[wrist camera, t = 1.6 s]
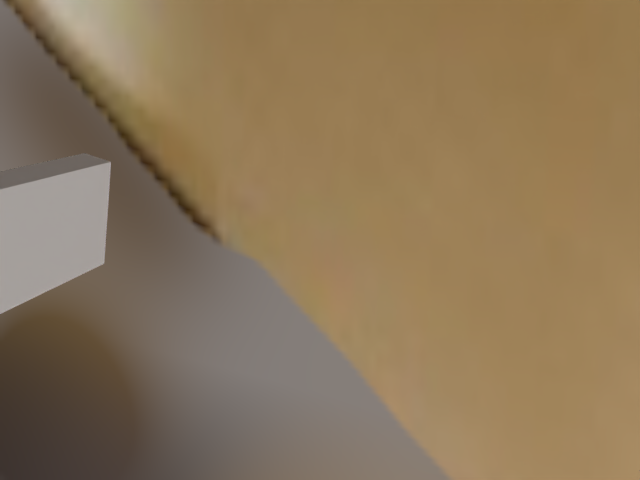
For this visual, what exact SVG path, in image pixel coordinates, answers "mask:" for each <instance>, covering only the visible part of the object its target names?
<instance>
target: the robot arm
mask: <svg viewBox="0 0 640 480" xmlns="http://www.w3.org/2000/svg"><path fill="white" fill-rule="evenodd" d="M110 168H111V162H110V161H107V160H104V159H101V158H98V157H95V156H92V155H89V154H86V153H84V154H79V155H74V156H70V157H65V158H61V159H56V160H52V161H47V162H42V163H37V164H33V165H28V166H24V167H19V168H14V169H10V170H5V171H0V314H1V313H3V312H5V311H7V310H9V309H11V308H13V307H16V306H18V305H19V304H22V303H24V302H26V301H28V300H30V299H32V298H34V297H36V296H38V295H40V294H42V293H44V292H46V291H48V290H50V289H53V288H55V287H57V286H59V285H61V284H63V283H65V282H67V281H69V280H71V279H73V278H75V277H77V276H79V275H81V274H83V273H86V272H88V271H90V270H92V269H94V268H96V267H98V266H100V265H102V264H104V257H105V243H106V228H107V213H108V198H109V183H110Z"/></svg>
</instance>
